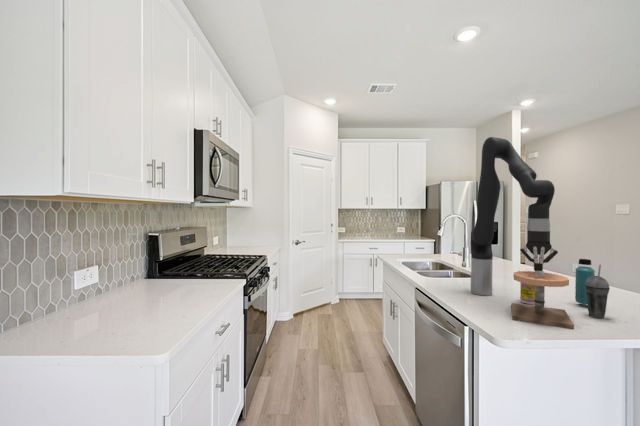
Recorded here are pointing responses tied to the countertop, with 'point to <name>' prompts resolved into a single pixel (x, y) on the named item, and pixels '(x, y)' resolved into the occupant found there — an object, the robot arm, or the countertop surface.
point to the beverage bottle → (583, 280)
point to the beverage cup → (597, 295)
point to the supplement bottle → (527, 293)
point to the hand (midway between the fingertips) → (538, 272)
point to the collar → (541, 279)
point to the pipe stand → (541, 310)
